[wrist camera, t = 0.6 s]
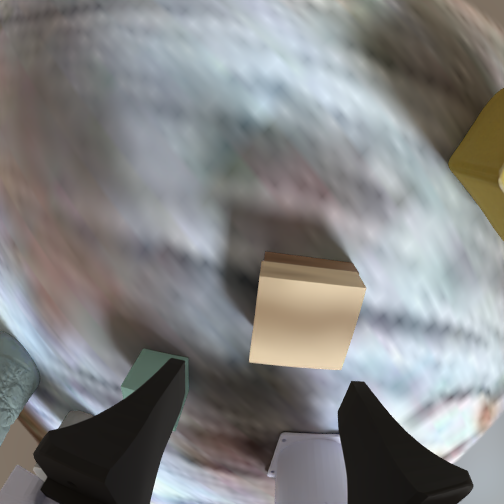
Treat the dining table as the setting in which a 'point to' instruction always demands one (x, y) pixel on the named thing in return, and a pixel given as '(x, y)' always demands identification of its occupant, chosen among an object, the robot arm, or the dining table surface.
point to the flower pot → (484, 161)
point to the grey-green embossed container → (14, 381)
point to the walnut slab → (309, 261)
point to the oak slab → (305, 315)
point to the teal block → (151, 372)
